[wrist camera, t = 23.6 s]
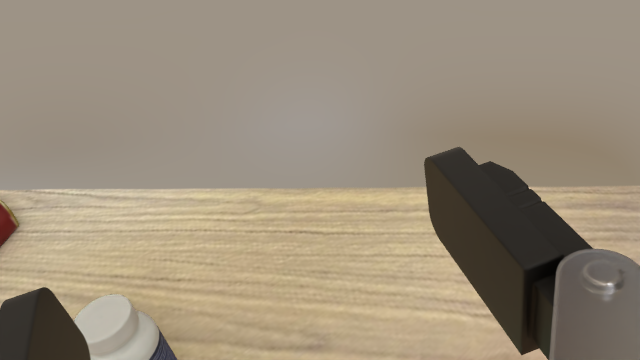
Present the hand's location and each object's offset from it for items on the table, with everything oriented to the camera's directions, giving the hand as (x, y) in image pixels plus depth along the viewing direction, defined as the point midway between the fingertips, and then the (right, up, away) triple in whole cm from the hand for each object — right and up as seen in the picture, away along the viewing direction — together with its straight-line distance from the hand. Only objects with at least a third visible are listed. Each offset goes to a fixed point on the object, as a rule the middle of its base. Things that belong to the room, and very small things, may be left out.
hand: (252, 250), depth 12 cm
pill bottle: (-11, -15, +31) cm, 36 cm away
